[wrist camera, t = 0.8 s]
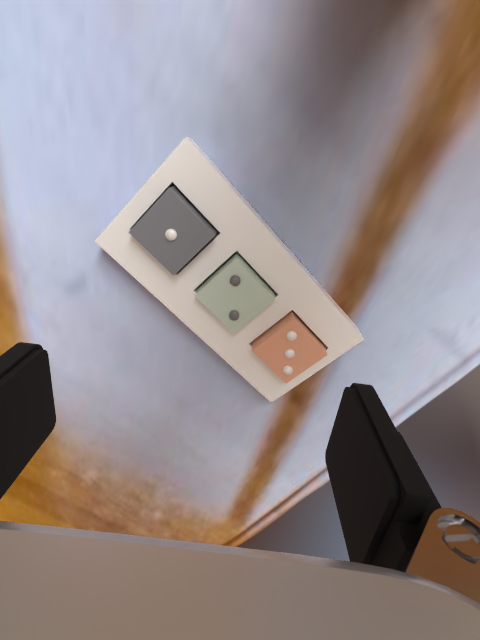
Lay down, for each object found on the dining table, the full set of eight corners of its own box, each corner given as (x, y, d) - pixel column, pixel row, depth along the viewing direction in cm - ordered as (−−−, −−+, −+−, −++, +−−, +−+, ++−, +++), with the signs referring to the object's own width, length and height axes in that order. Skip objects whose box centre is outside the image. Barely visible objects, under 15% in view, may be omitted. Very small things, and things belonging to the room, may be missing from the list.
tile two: (237, 251, 37) (235, 259, 34) (274, 290, 38) (275, 300, 36) (198, 286, 39) (194, 296, 36) (235, 322, 41) (233, 334, 38)
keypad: (191, 138, 34) (185, 137, 31) (357, 327, 42) (364, 339, 39) (106, 234, 39) (94, 241, 36) (270, 388, 47) (271, 402, 44)
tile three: (291, 308, 39) (293, 320, 37) (323, 343, 41) (327, 356, 38) (252, 339, 41) (251, 352, 39) (284, 370, 43) (286, 384, 40)
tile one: (175, 185, 34) (168, 188, 31) (217, 230, 36) (214, 236, 33) (137, 226, 36) (127, 232, 34) (179, 267, 38) (173, 276, 35)
